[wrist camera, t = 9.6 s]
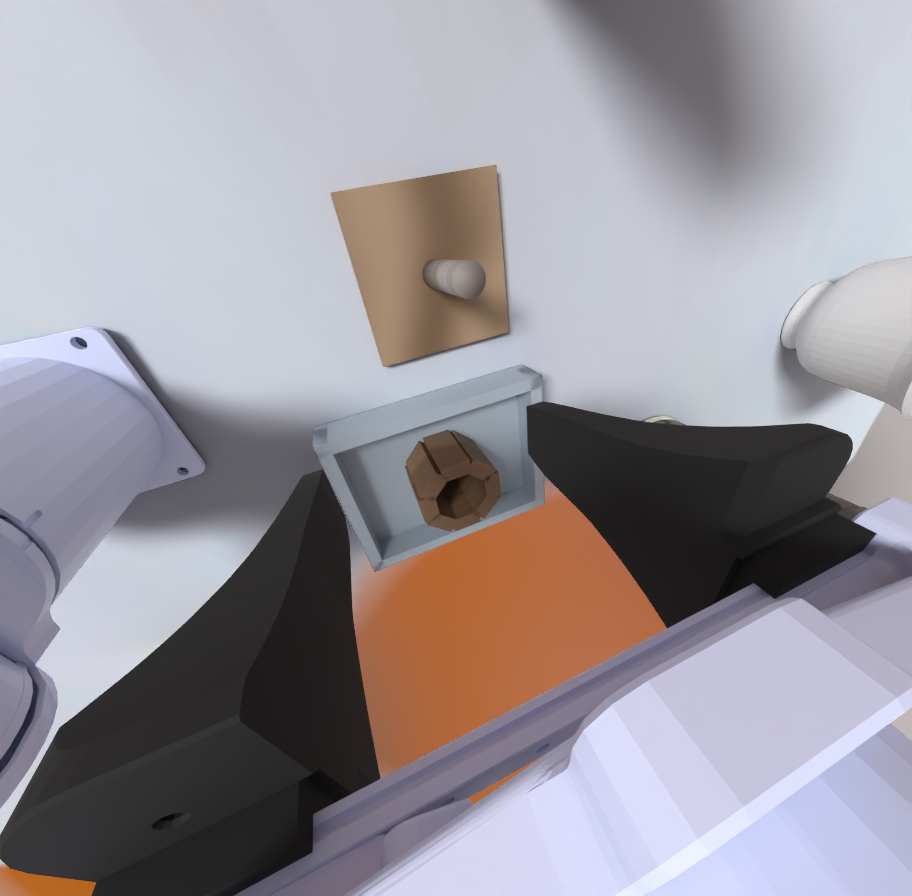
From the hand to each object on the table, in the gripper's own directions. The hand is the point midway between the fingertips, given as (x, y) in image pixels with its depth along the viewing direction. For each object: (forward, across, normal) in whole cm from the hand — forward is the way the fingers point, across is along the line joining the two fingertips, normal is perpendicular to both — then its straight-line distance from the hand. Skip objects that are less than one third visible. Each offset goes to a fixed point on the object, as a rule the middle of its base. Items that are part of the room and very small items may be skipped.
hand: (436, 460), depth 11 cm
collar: (+10, -2, +7) cm, 12 cm away
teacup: (+10, -39, +6) cm, 41 cm away
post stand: (+10, -4, -5) cm, 12 cm away
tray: (+10, -2, +7) cm, 13 cm away
